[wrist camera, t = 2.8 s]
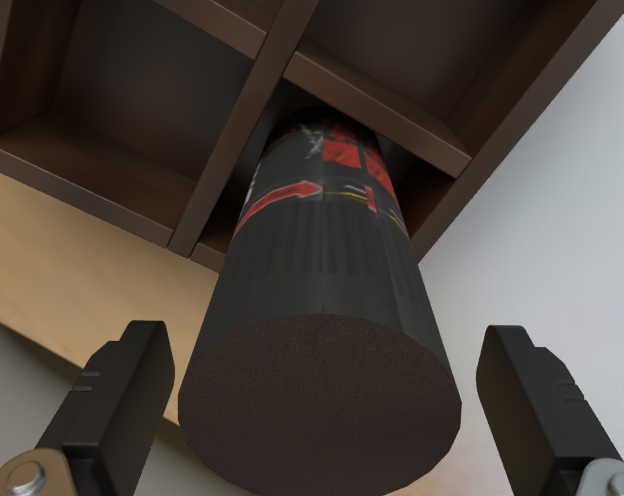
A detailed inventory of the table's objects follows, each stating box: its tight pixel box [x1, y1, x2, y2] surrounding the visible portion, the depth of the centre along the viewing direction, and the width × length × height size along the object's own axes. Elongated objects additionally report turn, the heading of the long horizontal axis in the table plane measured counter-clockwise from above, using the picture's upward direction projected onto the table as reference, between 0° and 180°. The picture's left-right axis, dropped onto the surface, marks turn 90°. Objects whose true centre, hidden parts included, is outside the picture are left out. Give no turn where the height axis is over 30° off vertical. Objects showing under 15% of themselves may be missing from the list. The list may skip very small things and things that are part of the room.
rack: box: [0, 0, 624, 273], centre depth 18 cm, size 18×18×5 cm
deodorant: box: [178, 105, 462, 496], centre depth 16 cm, size 6×6×15 cm
